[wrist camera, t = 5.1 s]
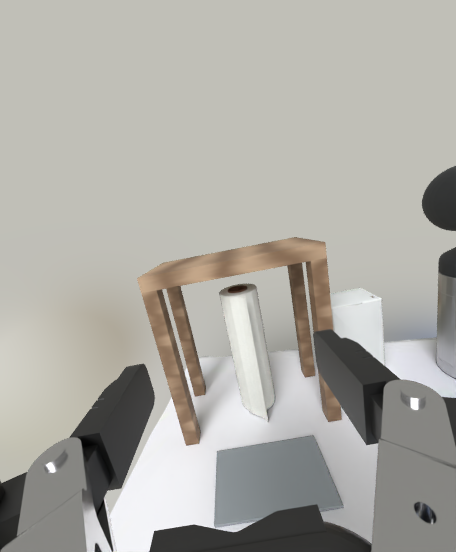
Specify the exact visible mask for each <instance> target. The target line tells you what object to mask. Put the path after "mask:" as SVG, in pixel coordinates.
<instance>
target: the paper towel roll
mask: <svg viewBox="0 0 456 552" xmlns="http://www.w3.org/2000/svg"><path fill="white" fill-rule="evenodd" d="M219 295H220V299H221V304H222V309H223V314H224V318H225V323H226V328H227V333H228V337H229V342H230V347H231V351H232V356H233V361H234V366H235V371H236V376H237V380H238V385H239V390H240V395H241V399H242V403H243V405H244V406H245V407H246V408H247V409H248V410H249V411H250V412H251V413H252V414H254V415H257V416H260V417H262V418H264V419H266V420H267V421H268V416H267V411H266V410H268V409H269V408H270V407H272V405H273V403H274V401H275V394H274V388H273V382H272V376H271V370H270V364H269V358H268V352H267V347H266V341H265V335H264V329H263V324H262V317H261V311H260V306H259V299H258V293H257V288H256V286H255V285H253V284H238V285H233V286H230V287H227V288H224V289H223V290H221V291H220V292H219ZM268 422H269V421H268Z"/></svg>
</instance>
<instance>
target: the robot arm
mask: <svg viewBox="0 0 456 552" xmlns="http://www.w3.org/2000/svg"><path fill="white" fill-rule="evenodd" d="M422 208H423V211H424V213H425V215H426V217H427V218H428V219H429V221H431V222H432V223H433V224H434V225H436V226H438V227H439V228H442V229H445V230H451V231H456V166H454V167H452V168H449V169H447V170H446V171H444V172H442V173H441V174H439V175H438V176H437V177H436V178H435V179H434V180H433V181H432V182H431V183H430V184H429V186H428V187H427V189H426V190H425V193H424V195H423V199H422ZM437 317H438V318H437V365H438V366H439V367H440V369H441V370H443V371H444V372H445V373H447V374H448V375H450V376H452V377H454V378H456V247H455V248H453V249H451V250H449V251H447V252H445V253H443V254H442V255H441V256H440V258H439V272H438V315H437ZM313 337H314V345H315V354H316V362H317V366H318V370H319V372H320V374H321V376H322V378H323V379H324V381H325V382H326V384H327V385H328V387H329V388H330V390H331V391H332V393H333V394H334V396H335V398H336V399H337V401H338V402H339V404H340V405H341V407H342V408H343V410H344V411H345V413H346V414H347V416H348V417H349V419H350V420H351V422H352V423H353V425H354V427H355V428H356V430H357V431H358V433H359V434H360V436H361V437H362V439H363V440H364V442H365V443H366V445H370V444H376V443H379V444H378V459H377V474H376V490H375V505H374V520H373V535H372V544H371V543H370V542H369V541H367V540H366V539H364V538H362V537H361V536H359V535H358V534H356V533H354V532H352V531H350V530H348V529H346V528H344V527H341V526H338V525H335V524H332V523H328V522H323V520H322V517H321V514H320V511H319V508H318V505H317V504H315V505H309V506H303V507H297V508H291V509H285V510H279V511H276V512H274V513H272V514H270V515H268V516H266V517H264V518H263V519H261V520H259V521H257V522H255V523H253V524H252V525H250V526H248V527H246V528H244V529H242V530H241V531H238V532H228V531H223V530H218V529H213V528H208V527H203V526H198V525H188V526H182V527H176V528H170V529H164V530H158V531H154V534H153V539H152V543H151V547H150V551H149V552H456V398H447V397H441V396H440V395H439V394H438V393H437V392H436V391H434V390H433V389H431V388H429V387H427V386H425V385H423V384H420V383H417V382H414V381H409V380H400V379H399V378H398V377H397V376H396V375H395V374H393V373H392V372H391V371H390V370H389V369H388V368H387V367H385V366H384V365H383V364H382V363H381V362H380V361H378V360H377V359H376V358H375V357H373V355H371V354H370V353H369V352H368V351H366V349H365V348H363V347H362V346H361V345H360V344H359V343H358V342H355V341H353V340H351V339H349V338H340V337H339V336H338V335H337V334H336V333H335V332H334V331H333V330H332V329H327V330H321V331H316V332H314V334H313ZM154 399H155V397H154V391H153V387H152V384H151V381H150V377H149V375H148V371H147V368H146V366H145V365H144V364H139V365H134V366H129V367H126V368H125V369H124V371H123V372H122V374H121V375H120V376H119V378H118V379H117V380H115V381H114V382H113V383H111V385H109V386H108V387H107V388H106V389H105V390H104V391H103V392H102V394H101V395H100V397H99V398H98V401H96V402H95V403H94V405H93V406H92V409H90V410H89V412H88V413H87V414H86V416H85V417H84V418H83V420H82V421H81V423H80V424H79V425H78V427H77V428H76V429H75V431H74V432H73V433H72V435H71V436H70V438H67V439H64V440H62V441H60V442H58V443H56V444H54V445H53V446H52V447H50V448H49V449H47V450H46V451H45V452H44V453H42V454H41V455H40V456H39V457H38V458H37V459H36V460H35V461H34V463H33V464H32V465H31V467H30V468H29V470H28V472H26V473H24V474H22V475H19V476H17V477H15V478H12V479H10V480H8V481H6V482H3V483H1V482H0V552H117V550H116V545H115V540H114V535H113V530H112V525H111V520H110V515H109V510H108V505H107V502H106V500H105V494H106V492H107V491H108V490H114V489H120V488H122V485H123V483H124V480H125V478H126V475H127V473H128V470H129V467H130V465H131V462H132V460H133V457H134V455H135V452H136V450H137V447H138V444H139V442H140V439H141V437H142V434H143V432H144V429H145V427H146V424H147V422H148V419H149V416H150V414H151V411H152V409H153V406H154Z"/></svg>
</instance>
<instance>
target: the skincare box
mask: <svg viewBox="0 0 456 552" xmlns="http://www.w3.org/2000/svg"><path fill="white" fill-rule="evenodd" d="M330 299H331V310H332V320H333V331H334V332H335V333H336V334H337V335H338V336H339V337H340V338H349V339H351V340H353V341H355V342H358V343H359V344H360V345H361V346H362V347H363V348H365V349H366V351H368V352H369V353H370V354H371V355H373V357H375V358H376V359H377V360H378V361H380V362H381V363H382V364H383V365H384V366H385V356H384V337H383V317H382V299H381V298H380V297H378V296H376V295H374V294H372V293H370V292H367V291H366V290H364V289H362V288H357V289H353V290H348V291H342V292H337V293H331V294H330Z"/></svg>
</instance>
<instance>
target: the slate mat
mask: <svg viewBox="0 0 456 552" xmlns="http://www.w3.org/2000/svg"><path fill="white" fill-rule="evenodd" d="M315 504H317V505H318V508H319V511H325V510H332V509H338V508H343V504H342V502H341V499H340V497H339V495H338V492H337V490H336V487H335V485H334V483H333V480H332V478H331V475H330V473H329V471H328V468H327V466H326V464H325V461H324V459H323V456H322V454H321V452H320V449H319V447H318V445H317V442H316V440H315V437H314V435H313V436H307V437H301V438H294V439H288V440H282V441H276V442H270V443H264V444H258V445H252V446H246V447H240V448H234V449H228V450H222V451H217V465H216V492H215V519H214V526H215V527H222V526H228V525H235V524H241V523H248V522H254V521H259V520H261V519H263V518H264V517H266V516H268V515H270V514H272V513H274V512H276V511H279V510H285V509H291V508H297V507H303V506H309V505H315Z"/></svg>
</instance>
